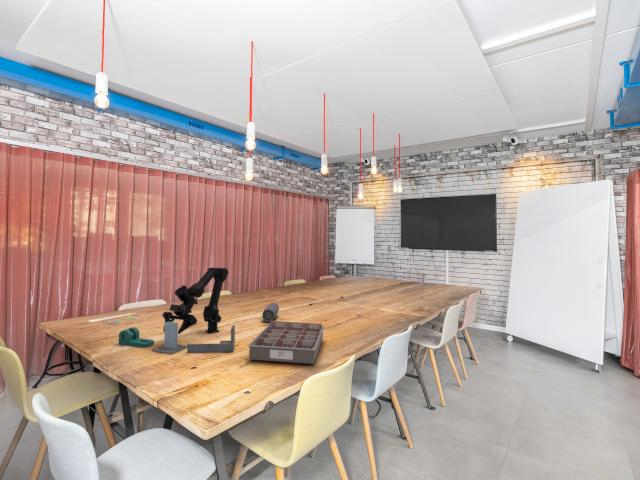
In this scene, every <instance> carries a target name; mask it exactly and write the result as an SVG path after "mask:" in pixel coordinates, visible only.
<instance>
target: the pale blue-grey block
mask: <svg viewBox="0 0 640 480" xmlns="http://www.w3.org/2000/svg"><path fill="white" fill-rule="evenodd" d="M164 325H165V332H164V334H163V335H164V338H163V339H164V342H163V343H164V344H163V346H164V348H167V349H173V350H174V349H176V348H177V344H178V339H179V338H178V335H179V334H178V331H179V322H176V321H173V322H169V321H168V322H165V321H164Z"/></svg>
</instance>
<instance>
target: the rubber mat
mask: <svg viewBox="0 0 640 480" xmlns="http://www.w3.org/2000/svg"><path fill="white" fill-rule="evenodd" d="M186 349H187V345H186V344H185V345H184V344H178V343H177V348H176V349H174V350H173V349H167V348H164V345H162V346H159V347H157V348H155V349H152V350H151V352H153V353H159V354H164V353H165V354H166V355H170V354H171V355H174V354H176V353H178V352H180V351H182V350H186Z"/></svg>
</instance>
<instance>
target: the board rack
mask: <svg viewBox="0 0 640 480" xmlns="http://www.w3.org/2000/svg"><path fill="white" fill-rule="evenodd" d="M230 328H231V329H230V340H219V343H187V345H186V346H187V348H186V349H187V350H186V351H187V353H188V354H189V353H190V354H193V353H201V354H202V353H204V352H205V353H233V352H234V350H235V347H236V346H235V345H236V344H235V343H236V341H235V340H236V325H234V324H233V325H232V326H231V327H230ZM221 342H230V343H225V344H221Z"/></svg>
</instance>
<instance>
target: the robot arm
mask: <svg viewBox="0 0 640 480" xmlns="http://www.w3.org/2000/svg"><path fill="white" fill-rule="evenodd" d="M228 275H229V270H228V268H226V267H208V269H207V271H206V272H204V274H203V275H202V277H200V279H199V280H198V281H197V282H196V283H193V284H192V285H191V286H190V287H188V286H187V285H184V284H183V285H181V286H180V287H178V288H176V289H175V291H174V295H175V296H176V297H177V298H178V300H179V301H180V302H182V303H181V304H173V303H171V304H170V307H169V311H164V312H163V314H162V315H161V317H162V318H163V319H164V323H165V322H168V321H169V322H175V320H181V321H182V323H181V325H180V328H178V335H180V334H181V333H184V331H185V330H187V329H189V328H190V327H193V325H194V326H195V325H197V322H198V319H197V318H196V316H195V315H194V314H191V313H192V312H193V311H192V309H193V307H194V306H195V305H199V303H198V298H201V297H202V296H203V294H204V293H205V289H206V287H207V285H208V284H209V283H210V282H211V280H212V279H213V280H214V282H213V287H212V291H211V295H210V299H209V303H208V304H207V306H206V305H205V306H204V309H203V312H202V317H203V320H204V322H207V329H206V330H205V332H206V333H208V334H213V333H219V332H220V330H219V329H218V323H220V322H221V321H222V316H221V315H220V314H219V312H220V309H219V306H218V305H219V301H220V300H219V299H220V296H221V292H222V288H223V284H224V282H225V281H226V280H227V278H228ZM196 298H197V299H196ZM162 331H163V332H164V333H165V324H164V326H163V329H162Z"/></svg>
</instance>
